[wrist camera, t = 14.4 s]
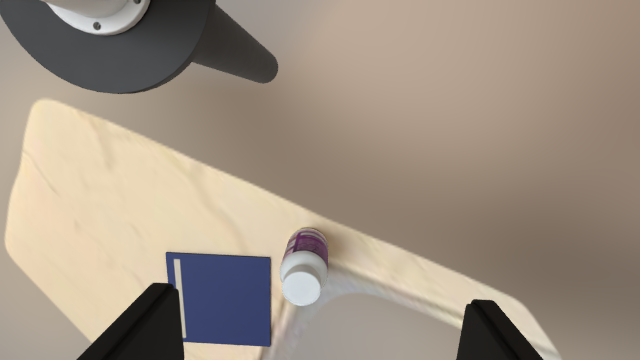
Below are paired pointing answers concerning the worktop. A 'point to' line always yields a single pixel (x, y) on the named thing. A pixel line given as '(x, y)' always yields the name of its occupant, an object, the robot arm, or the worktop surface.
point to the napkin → (222, 297)
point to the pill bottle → (304, 267)
